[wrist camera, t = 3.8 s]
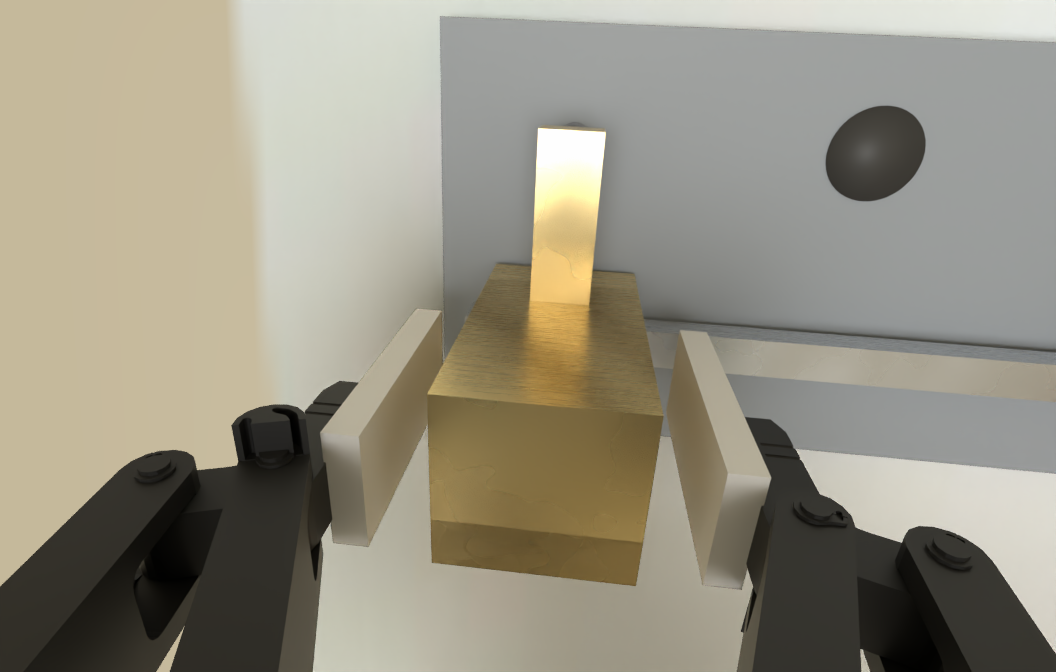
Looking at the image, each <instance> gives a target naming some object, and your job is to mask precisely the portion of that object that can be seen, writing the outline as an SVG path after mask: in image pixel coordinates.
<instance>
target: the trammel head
mask: <svg viewBox="0 0 1056 672" xmlns="http://www.w3.org/2000/svg"><path fill="white" fill-rule="evenodd" d="M605 133H606V132H605V128H588V127H586V126H585V125H583V124H581V123H578V122H571V123H568V124H566V125H564V126H553V125H542V126H541V127H540V128H539V129H538V149H537V169H536V189H535V209H534V229H533V249H532V266H522V265H508V264H496V265H495V267H494V269H493V271H492V273H491V274H490V276H489V278H488V280H487V282H486V284H485V286H484V288H483V290H482V291H481V293H480V295H479V297H478V299H477V301H476V303H475V305H474V306H473V308H472V310H471V312H470V314H469V316H468V318H467V320H466V322H465V323H464V325H463V327H462V329H461V331H460V333H459V335H458V337H457V339H456V340H455V342H454V344H453V346H452V348H451V350H450V352H449V354H448V356H447V357H446V359H445V361H444V363H443V365H442V367H441V369H440V371H439V373H438V374H437V376H436V378H435V380H434V382H433V384H432V386H431V388H430V390H429V391H428V393H427V411H428V446H429V481H430V516H431V550H432V563H440V564H449V565H457V566H466V567H475V568H483V569H492V570H501V571H509V572H518V573H527V574H535V575H544V576H553V577H561V578H570V579H579V580H587V581H596V582H605V583H613V584H622V585H631V586H636V582H637V576H638V570H639V564H640V558H641V551H642V545H643V539H644V533H645V527H646V521H647V515H648V509H649V503H650V497H651V491H652V484H653V478H654V472H655V466H656V460H657V454H658V448H659V442H660V436H661V430H662V423H663V417H664V415H663V410H662V406H661V401H660V396H659V391H658V386H657V381H656V376H655V371H654V367H653V362H652V357H651V352H650V347H649V342H648V337H647V332H646V328H645V323H644V318H643V313H642V308H641V303H640V298H639V293H638V288H637V284H636V279H635V274H628V273H615V272H602V271H592V270H593V260H594V249H595V238H596V228H597V217H598V207H599V196H600V186H601V175H602V165H603V154H604V143H605Z"/></svg>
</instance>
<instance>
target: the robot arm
mask: <svg viewBox="0 0 1056 672" xmlns="http://www.w3.org/2000/svg"><path fill="white" fill-rule="evenodd" d="M442 365H443V363H442V311H440V310H428V309H415V311H414V312H413V313H412V315H411V316H410V317H409V318H408V320H407V321H406V322H405V324H404V325H403V326H402V328H401V329H400V330H399V331H398V333H397V334H396V335H395V337H394V338H393V339H392V340H391V342H390V343H389V344H388V346H387V347H386V348H385V349H384V351H383V352H382V353H381V355H380V356H379V357H378V359H377V360H376V361H375V362H374V364H373V365H372V366H371V368H370V369H369V370H368V371H367V373H366V374H365V375H364V377H363V378H362V379H361V380H360V382H359V383H356V382H345V381H339V382H337V383H335V384H334V385H332V386H330V387H328V388H326V389H325V390H323V391H322V392H321V393H320V394H319V396H318V397H317V398H316V399H315V400H314V401H313V404H311V405H310V406H309V407H308V408H307V409H306V411H305V414H304V412H303V411H302V410H300V409H299V408H298V407H294V406H290V405H269V406H263V407H259V408H256V409H253V410H250V411H248V412H246V413H244V414H243V415H241V416H240V417H238V418H237V419H236V420H235V422H234V423H233V424H232V430H233V436H234V441H235V446H236V451H237V456H238V464H237V466H232V467H226V468H216V469H205V470H197V468H196V464H195V460H194V457H193V456H192V455H190V454H189V453H187V452H184V451H178V450H169V451H158V452H155V453H150V454H147V455H144V456H142V457H140V458H138V459H135V460H133V461H131V462H130V463H128V464H127V465H126V466H124V467H123V468H122V469H120V470H119V471H118V472H117V473H116V474H115V475H114V476H113V477H112V478H111V479H110V480H109V481H108V482H107V483H106V484H105V485H104V486H103V487H102V488H101V489H100V490H99V491H98V492H97V493H96V494H95V495H94V496H93V497H92V498H91V499H89V500H88V501H87V502H86V503H85V504H84V506H82V507H81V508H80V509H79V510H78V511H77V512H76V513H75V514H74V515H73V516H72V517H71V518H70V519H69V520H68V521H67V522H66V523H65V524H64V525H63V526H62V527H61V528H60V529H59V530H58V531H57V532H56V533H55V534H54V535H53V536H52V537H51V538H50V539H48V540H47V541H46V542H45V543H44V544H43V545H42V546H41V547H40V548H39V549H38V550H37V551H36V552H35V553H34V554H33V555H32V556H31V557H30V558H29V559H28V560H27V561H26V562H25V563H24V564H23V565H22V566H21V567H20V568H19V569H18V570H17V571H16V572H15V573H14V574H13V575H12V576H11V577H10V578H9V579H8V580H7V581H6V582H5V583H3V584H2V586H0V672H156V671H157V669H158V668H159V666H160V665H161V663H162V661H163V660H164V658H165V656H166V655H167V653H168V652H169V650H170V648H171V647H172V645H173V644H174V642H175V640H176V639H177V637H178V636H179V634H180V632H181V631H182V629H183V627H184V626H185V627H184V630H183V633H182V636H181V639H180V642H179V645H178V648H177V651H176V654H175V657H174V661H173V663H172V667H171V670H170V672H313V661H314V650H315V639H316V628H317V617H318V606H319V595H320V584H321V573H322V562H323V549H322V542H321V538H322V536H323V534H324V532H325V531H326V529H327V527H328V526H329V524H330V522H331V529H332V538H333V543H338V544H347V545H356V546H365V547H369V545H370V543H371V540H372V538H373V536H374V534H375V532H376V530H377V528H378V526H379V524H380V522H381V520H382V518H383V516H384V514H385V511H386V509H387V507H388V505H389V503H390V501H391V499H392V497H393V495H394V493H395V491H396V489H397V487H398V484H399V482H400V480H401V478H402V476H403V474H404V472H405V470H406V468H407V466H408V464H409V462H410V460H411V458H412V455H413V453H414V451H415V449H416V447H417V445H418V443H419V441H420V439H421V437H422V435H423V433H424V431H425V429H426V426H427V424H428V411H427V393H428V391H429V390H430V388H431V386H432V384H433V382H434V380H435V378H436V376H437V374H438V373H439V371H440V369H441V367H442ZM666 415H667V420H668V425H669V430H670V434H671V439H672V444H673V448H674V453H675V458H676V462H677V467H678V472H679V476H680V481H681V486H682V490H683V495H684V500H685V504H686V509H687V514H688V518H689V523H690V528H691V533H692V537H693V542H694V547H695V551H696V556H697V561H698V565H699V570H700V575H701V579H702V584H703V585H706V586H714V587H723V588H732V589H741V590H742V586H743V583H744V579H745V575H746V571H747V568H748V571H749V574H750V578H751V581H752V584H753V589H752V593H751V597H750V600H749V604H748V607H747V611H746V615H745V618H744V622H743V626H742V629H741V632H743V639H742V645H741V651H740V657H739V663H738V669H737V672H861V657H860V649H863V651H864V655H865V658H866V660H867V663H868V666H869V669H870V672H1056V654H1055V652H1054V651H1053V649H1052V648H1051V646H1050V645H1049V643H1048V642H1047V640H1046V639H1045V637H1044V636H1043V634H1042V633H1041V632H1040V630H1039V629H1038V627H1037V626H1036V624H1035V623H1034V621H1033V620H1032V618H1031V617H1030V615H1029V614H1028V612H1027V611H1026V610H1025V608H1024V607H1023V605H1022V604H1021V602H1020V601H1019V599H1018V598H1017V596H1016V595H1015V593H1014V592H1013V590H1012V589H1011V588H1010V586H1009V585H1008V583H1007V582H1006V580H1005V579H1004V577H1003V576H1002V574H1001V573H1000V571H999V570H998V568H997V567H996V566H995V564H994V563H993V561H992V560H991V559H990V558H989V557H988V556H987V555H986V554H985V553H984V551H983V550H982V549H980V548H979V547H977V546H976V545H974V544H973V543H971V542H970V541H968V540H967V539H965V538H963V537H961V536H959V535H956V534H955V533H952V532H950V531H946V530H942V529H939V528H935V527H923V526H918V527H915V528H912V529H909V530H908V532H907V533H906V535H905V537H904V539H903V542H902V543H900V542H897V541H894V540H890V539H887V538H884V537H881V536H877V535H874V534H871V533H868V532H865V531H863V530H860V529H858V528H856V527H855V525H854V522H853V519H852V516H851V515H850V514H849V513H848V512H847V511H846V510H845V509H844V508H843V507H842V506H841V505H839V504H838V503H836V502H835V501H833V500H832V499H830V498H828V497H825V496H823V495H820V494H819V492H818V490H817V488H816V487H815V485H814V483H813V481H812V479H811V477H810V475H809V474H808V472H807V470H806V468H805V466H804V464H803V462H802V461H801V460H800V457H799V455H798V453H797V451H796V450H795V449H794V448H793V444H792V442H791V440H790V438H789V437H788V435H787V433H786V432H785V431H784V430H783V429H782V428H780V427H779V426H778V425H777V424H776V423H774V422H773V421H772V420H771V419H762V418H751V417H744V415H743V413H742V410H741V408H740V406H739V404H738V401H737V399H736V397H735V394H734V392H733V390H732V388H731V385H730V383H729V381H728V379H727V376H726V374H725V372H724V370H723V367H722V365H721V363H720V361H719V358H718V356H717V354H716V352H715V349H714V347H713V345H712V343H711V340H710V338H709V336H708V334H707V332H697V331H685V330H680V331H679V337H678V343H677V349H676V355H675V361H674V367H673V373H672V380H671V386H670V392H669V398H668V404H667V410H666Z"/></svg>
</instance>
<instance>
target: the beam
mask: <svg viewBox="0 0 1056 672" xmlns="http://www.w3.org/2000/svg"><path fill="white" fill-rule="evenodd" d="M475 303H476V301H473V302H472V304H471V306H470V308H469V309H468V311H467V313H466V315H465V322H466V320H467V318H468V316H469V314H470V312H471V310H472V308H473V306H474V305H475ZM644 323H645V328H646V332H647V337H648V342H649V347H650V352H651V357H652V362H653V367H657V368H668V369H673V367H674V361H675V355H676V349H677V343H678V337H679V331H680V330H685V331H697V332H707V334H708V336H709V338H710V340H711V343H712V345H713V347H714V349H715V352H716V354H717V356H718V358H719V361H720V363H721V365H722V367H723V370H724V372H725V373H726V374H737V375H749V376H760V377H772V378H783V379H795V380H806V381H818V382H829V383H841V384H852V385H864V386H875V387H887V388H898V389H910V390H921V391H933V392H944V393H956V394H967V395H979V396H990V397H1002V398H1013V399H1025V400H1036V401H1048V402H1056V352H1044V351H1032V350H1019V349H1007V348H994V347H982V346H970V345H957V344H945V343H933V342H920V341H908V340H895V339H883V338H871V337H858V336H846V335H834V334H821V333H809V332H796V331H784V330H772V329H759V328H747V327H735V326H722V325H710V324H697V323H685V322H673V321H660V320H648V319H644Z"/></svg>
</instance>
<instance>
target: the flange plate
mask: <svg viewBox="0 0 1056 672" xmlns="http://www.w3.org/2000/svg"><path fill="white" fill-rule="evenodd" d="M440 58H441V128H442V199H443V270H444V341H445V359H446V357H447V356H448V354H449V352H450V350H451V348H452V346H453V344H454V342H455V340H456V339H457V337H458V335H459V333H460V331H461V329H462V327H463V325H464V323H465V315H466V313H467V311H468V309H469V308H470V306H471V304H472V302H473V301H477V299H478V297H479V295H480V293H481V291H482V290H483V288H484V286H485V284H486V282H487V280H488V278H489V276H490V274H491V273H492V271H493V269H494V267H495V265H496V264H508V265H522V266H532V249H533V229H534V209H535V189H536V169H537V149H538V129H539V128H540V127H541V126H542V125H553V126H564V125H566V124H568V123H571V122H578V123H581V124H583V125H585V126H586V127H588V128H605V132H606V133H605V143H604V154H603V165H602V175H601V186H600V196H599V207H598V217H597V228H596V238H595V249H594V260H593V270H592V271H602V272H615V273H628V274H635V279H636V284H637V288H638V293H639V298H640V303H641V308H642V313H643V318H644V319H648V320H660V321H673V322H685V323H697V324H710V325H722V326H735V327H747V328H759V329H772V330H784V331H796V332H809V333H821V334H834V335H846V336H858V337H871V338H883V339H895V340H908V341H920V342H933V343H945V344H957V345H970V346H982V347H994V348H1007V349H1019V350H1032V351H1044V352H1056V43H1053V42H1030V41H1007V40H983V39H960V38H936V37H913V36H890V35H866V34H843V33H819V32H796V31H773V30H749V29H726V28H702V27H679V26H656V25H632V24H609V23H585V22H562V21H539V20H515V19H492V18H468V17H445V16H440ZM654 371H655V376H656V381H657V386H658V391H659V396H660V401H661V406H662V410H663V415H664V417H663V423H662V430H661V436H667V437H671V434H670V430H669V425H668V420H667V415H666V410H667V404H668V398H669V392H670V386H671V380H672V373H673V369H668V368H657V367H654ZM725 374H726V373H725ZM726 376H727V379H728V381H729V383H730V385H731V388H732V390H733V392H734V394H735V397H736V399H737V401H738V404H739V406H740V408H741V410H742V413H743V415H744V417H751V418H762V419H771V420H772V421H773V422H774V423H776V424H777V425H778V426H779V427H780V428H782V429H783V430H784V431H785V432H786V433H787V435H788V437H789V438H790V440H791V442H792V444H793V448H794V449H803V450H814V451H824V452H835V453H845V454H855V455H866V456H876V457H887V458H897V459H908V460H918V461H929V462H939V463H950V464H960V465H970V466H981V467H991V468H1002V469H1012V470H1023V471H1033V472H1044V473H1054V474H1056V402H1048V401H1036V400H1025V399H1013V398H1002V397H990V396H979V395H967V394H956V393H944V392H933V391H921V390H910V389H898V388H887V387H875V386H864V385H852V384H841V383H829V382H818V381H806V380H795V379H783V378H772V377H760V376H749V375H737V374H726Z"/></svg>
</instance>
